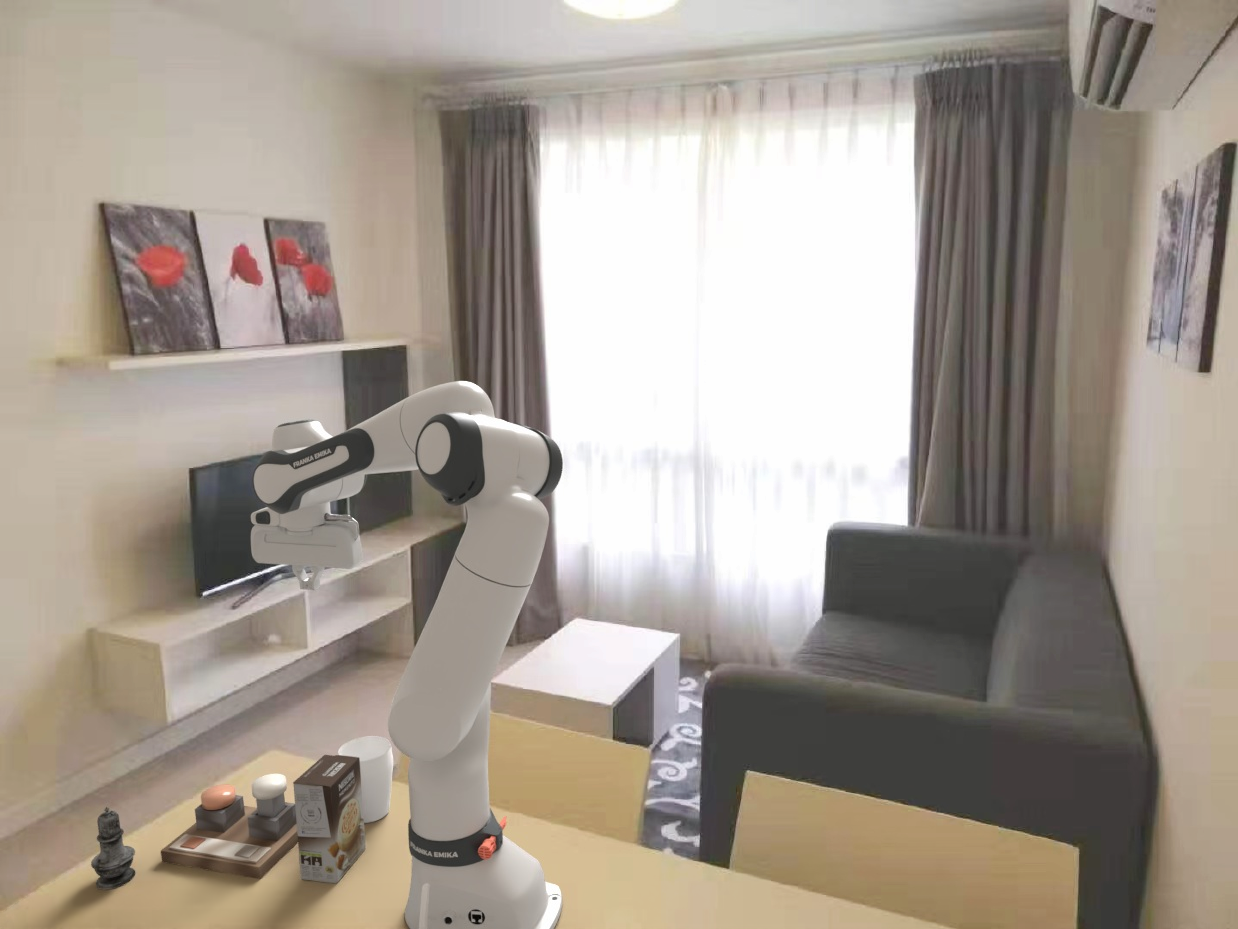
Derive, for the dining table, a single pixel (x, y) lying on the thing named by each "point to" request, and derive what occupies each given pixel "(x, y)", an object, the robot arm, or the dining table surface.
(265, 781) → the white button
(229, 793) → the terracotta button
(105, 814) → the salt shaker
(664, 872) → the dining table surface
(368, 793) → the cup
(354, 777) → the coffee box
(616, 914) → the dining table surface
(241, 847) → the pattern board
